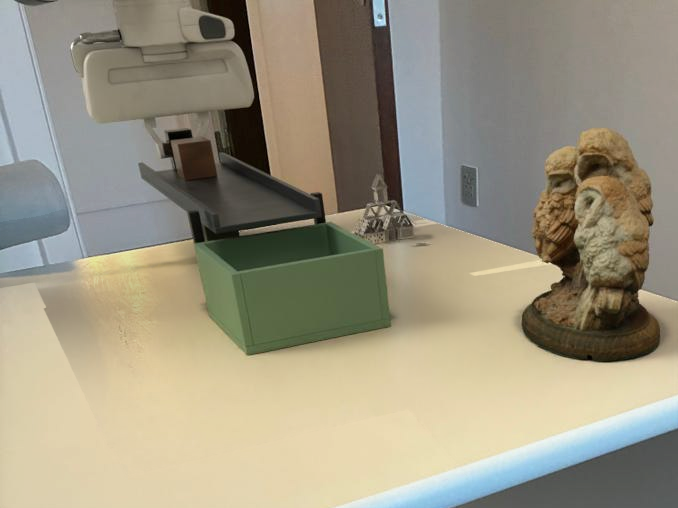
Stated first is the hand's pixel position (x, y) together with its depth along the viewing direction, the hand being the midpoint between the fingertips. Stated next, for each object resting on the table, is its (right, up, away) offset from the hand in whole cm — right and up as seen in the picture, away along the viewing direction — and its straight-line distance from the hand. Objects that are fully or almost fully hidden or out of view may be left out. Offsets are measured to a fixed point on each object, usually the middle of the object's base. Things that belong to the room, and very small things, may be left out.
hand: (183, 155), depth 122 cm
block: (+3, -5, -4) cm, 7 cm away
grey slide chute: (+8, -11, -12) cm, 18 cm away
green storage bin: (+19, -29, -25) cm, 43 cm away
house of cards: (+26, -11, +1) cm, 28 cm away
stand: (+11, -20, -11) cm, 25 cm away
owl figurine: (+48, -33, -32) cm, 66 cm away
